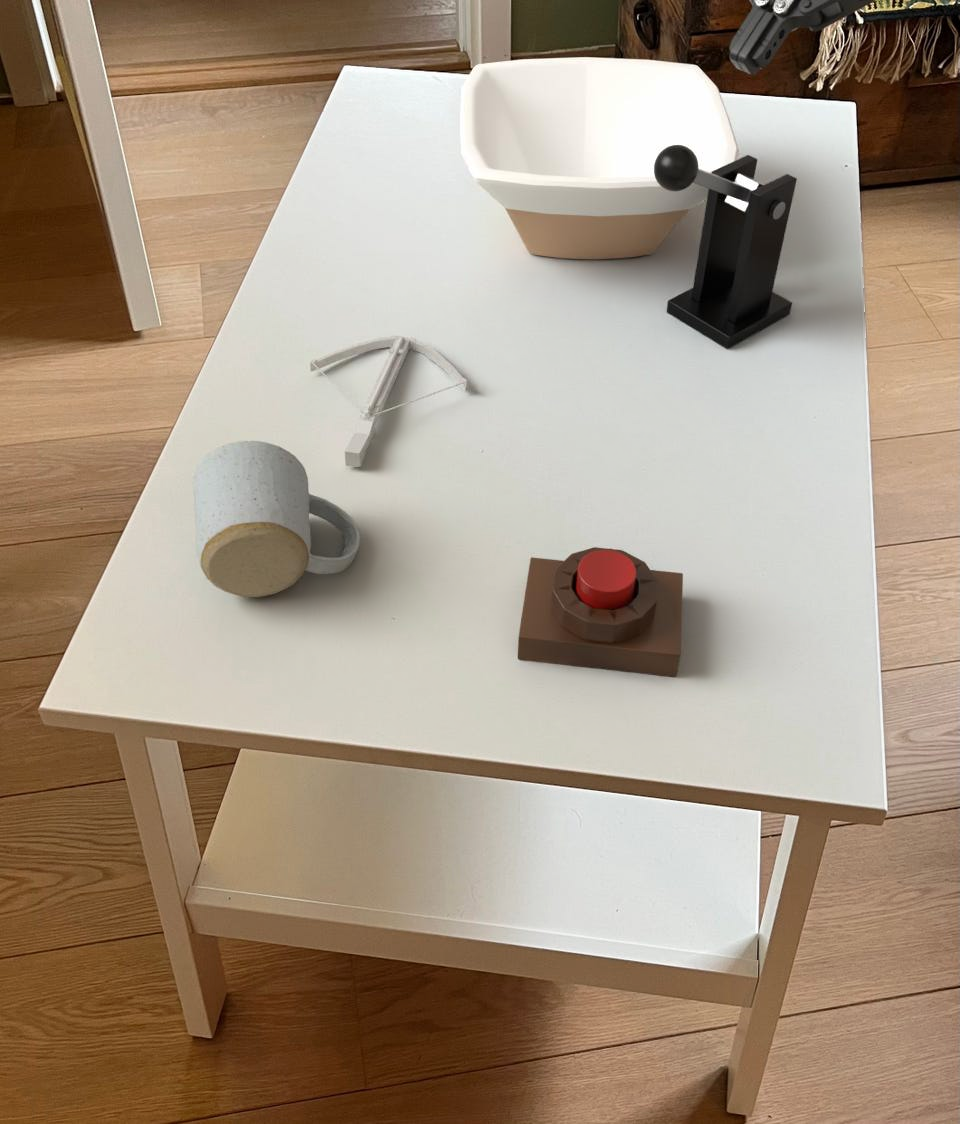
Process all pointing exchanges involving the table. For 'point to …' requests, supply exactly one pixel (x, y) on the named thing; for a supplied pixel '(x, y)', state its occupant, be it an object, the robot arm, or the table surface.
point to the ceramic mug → (261, 520)
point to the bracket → (738, 261)
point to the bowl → (590, 148)
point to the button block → (601, 620)
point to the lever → (700, 176)
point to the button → (606, 579)
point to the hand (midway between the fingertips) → (741, 66)
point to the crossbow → (381, 385)
